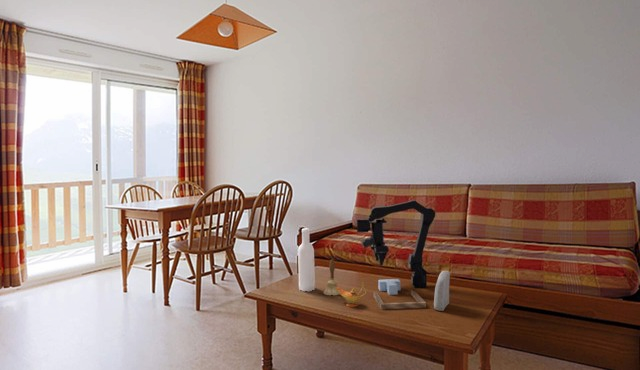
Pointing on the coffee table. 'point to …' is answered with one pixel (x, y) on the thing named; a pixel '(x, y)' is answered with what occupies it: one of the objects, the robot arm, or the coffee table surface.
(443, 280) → the decorative stone
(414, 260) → the robot arm
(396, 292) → the grey stepped block
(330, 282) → the hand bell
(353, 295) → the magic lamp
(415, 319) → the coffee table surface
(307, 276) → the bottle
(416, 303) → the bay
